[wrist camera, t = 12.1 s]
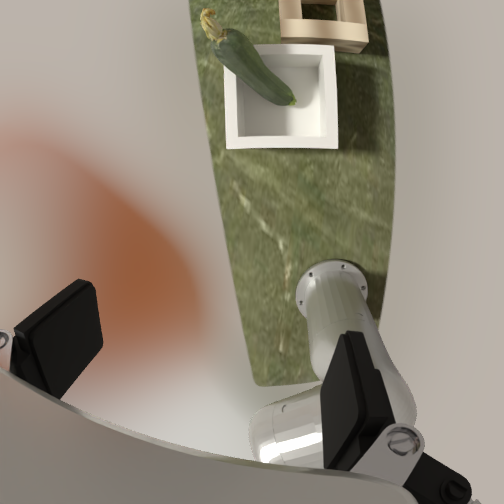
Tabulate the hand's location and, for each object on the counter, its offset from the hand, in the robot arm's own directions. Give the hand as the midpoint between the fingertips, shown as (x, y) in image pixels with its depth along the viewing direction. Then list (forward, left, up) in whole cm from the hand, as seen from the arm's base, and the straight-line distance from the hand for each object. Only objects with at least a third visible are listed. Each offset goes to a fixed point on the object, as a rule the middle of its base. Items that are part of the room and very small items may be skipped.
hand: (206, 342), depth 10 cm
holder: (+14, -26, -38) cm, 48 cm away
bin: (+8, -11, -38) cm, 40 cm away
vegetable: (+7, -11, -37) cm, 39 cm away
